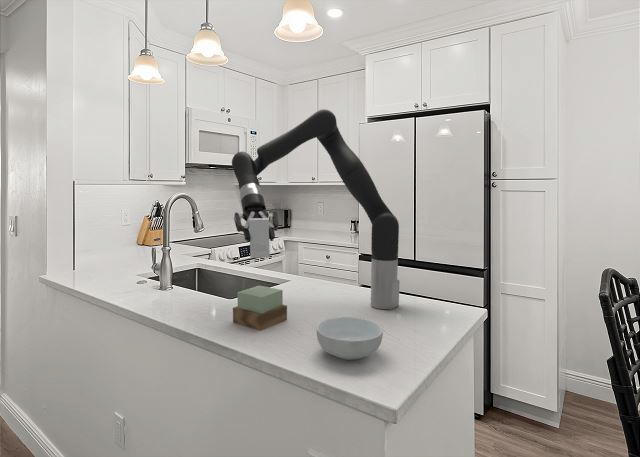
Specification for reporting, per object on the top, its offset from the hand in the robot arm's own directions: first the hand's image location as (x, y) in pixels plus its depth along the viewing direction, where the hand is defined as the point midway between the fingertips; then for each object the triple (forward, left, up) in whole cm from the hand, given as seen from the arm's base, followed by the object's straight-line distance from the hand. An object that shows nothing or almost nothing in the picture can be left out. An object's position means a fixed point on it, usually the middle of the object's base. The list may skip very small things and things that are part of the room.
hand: (260, 239), depth 124 cm
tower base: (+1, 0, -26) cm, 26 cm away
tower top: (+1, -1, -21) cm, 22 cm away
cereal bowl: (-35, +3, -26) cm, 44 cm away
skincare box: (+1, -1, -6) cm, 6 cm away
